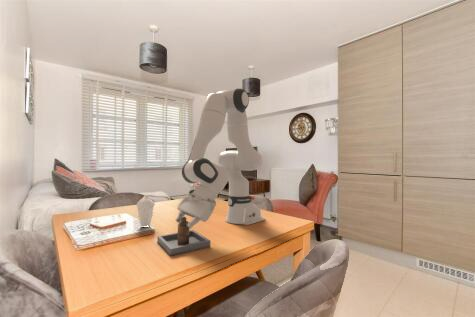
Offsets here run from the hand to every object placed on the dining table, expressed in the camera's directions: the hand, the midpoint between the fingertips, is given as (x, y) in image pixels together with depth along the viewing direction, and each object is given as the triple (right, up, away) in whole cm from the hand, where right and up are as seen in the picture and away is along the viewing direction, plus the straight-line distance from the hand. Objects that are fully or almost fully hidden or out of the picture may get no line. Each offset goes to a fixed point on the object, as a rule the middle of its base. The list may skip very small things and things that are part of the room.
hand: (182, 224), depth 96 cm
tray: (0, -8, +1) cm, 8 cm away
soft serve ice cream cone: (-24, -8, +23) cm, 34 cm away
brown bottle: (0, -8, +1) cm, 8 cm away
